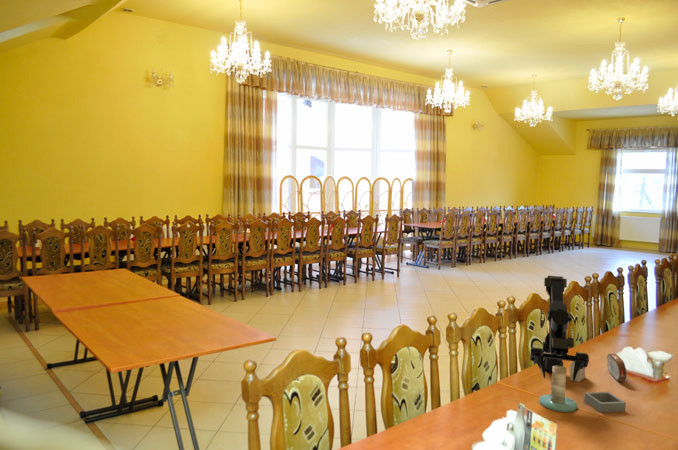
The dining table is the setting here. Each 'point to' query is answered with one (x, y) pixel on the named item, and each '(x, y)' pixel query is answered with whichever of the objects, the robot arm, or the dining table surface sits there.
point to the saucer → (566, 407)
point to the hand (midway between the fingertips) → (559, 379)
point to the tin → (616, 367)
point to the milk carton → (580, 374)
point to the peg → (558, 384)
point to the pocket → (599, 402)
